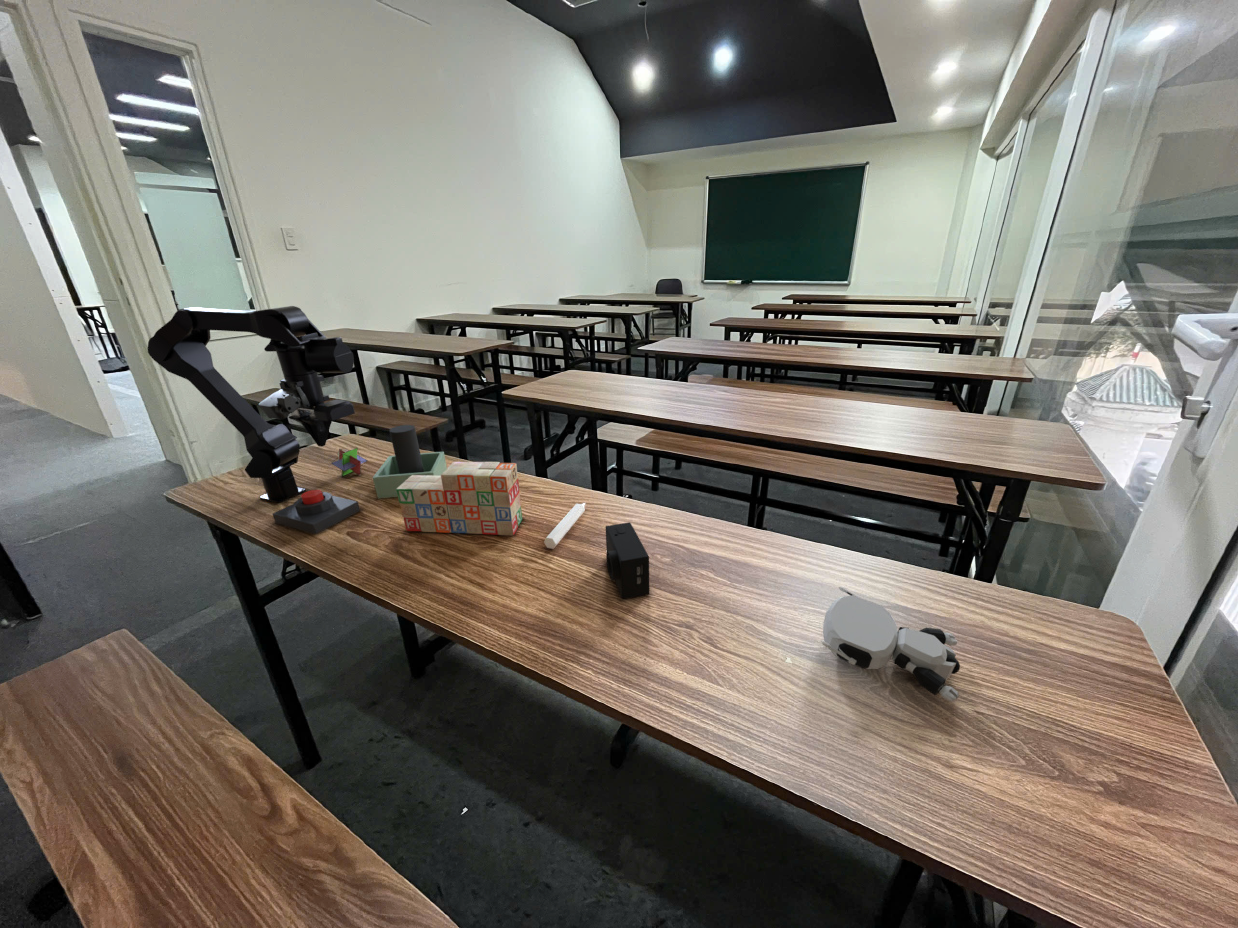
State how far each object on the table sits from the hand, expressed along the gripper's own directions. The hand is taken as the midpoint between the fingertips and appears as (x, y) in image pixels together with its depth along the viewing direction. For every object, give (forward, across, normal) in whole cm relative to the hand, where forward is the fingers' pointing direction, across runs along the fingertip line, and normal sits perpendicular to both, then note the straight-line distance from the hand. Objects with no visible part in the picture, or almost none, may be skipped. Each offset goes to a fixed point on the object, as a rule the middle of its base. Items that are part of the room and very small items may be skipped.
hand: (321, 445), depth 102 cm
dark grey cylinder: (+11, +12, +11) cm, 20 cm away
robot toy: (+12, +108, -7) cm, 109 cm away
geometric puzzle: (+12, -7, +10) cm, 17 cm away
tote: (+12, +12, +11) cm, 20 cm away
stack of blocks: (+12, +36, 0) cm, 38 cm away
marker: (+12, +55, +7) cm, 57 cm away
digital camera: (+12, +71, -4) cm, 72 cm away
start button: (+8, +5, -8) cm, 13 cm away
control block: (+12, +5, -8) cm, 15 cm away
